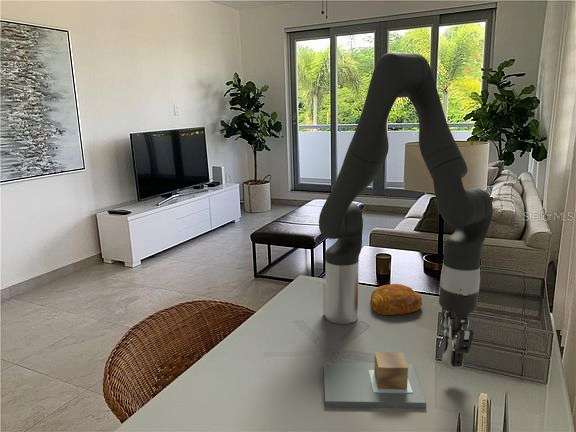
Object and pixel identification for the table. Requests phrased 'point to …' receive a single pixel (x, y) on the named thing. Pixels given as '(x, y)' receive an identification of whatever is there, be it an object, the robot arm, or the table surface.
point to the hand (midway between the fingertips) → (452, 358)
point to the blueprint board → (367, 388)
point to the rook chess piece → (449, 355)
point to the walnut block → (390, 370)
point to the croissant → (395, 300)
